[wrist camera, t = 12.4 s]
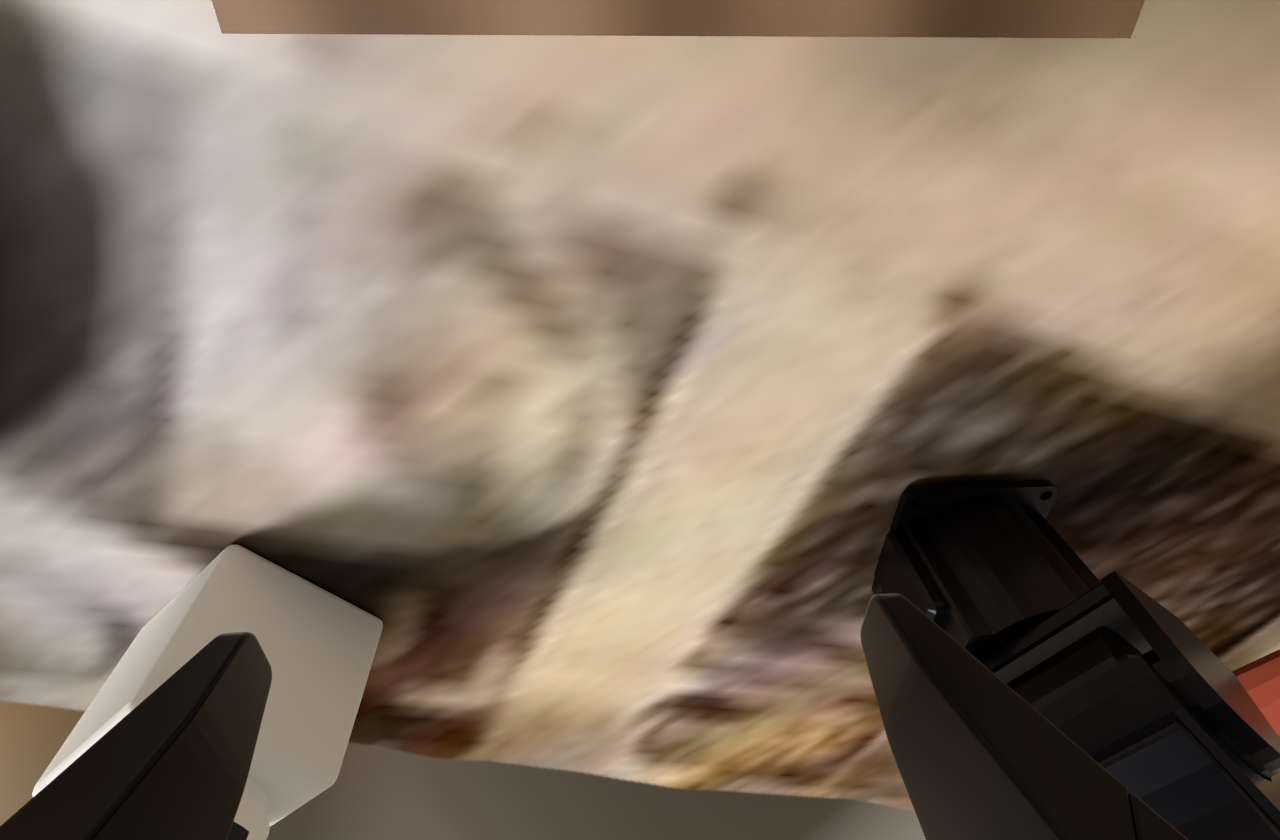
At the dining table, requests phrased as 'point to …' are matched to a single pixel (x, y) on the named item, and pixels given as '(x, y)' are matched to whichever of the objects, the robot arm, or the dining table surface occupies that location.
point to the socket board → (687, 17)
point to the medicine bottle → (300, 689)
